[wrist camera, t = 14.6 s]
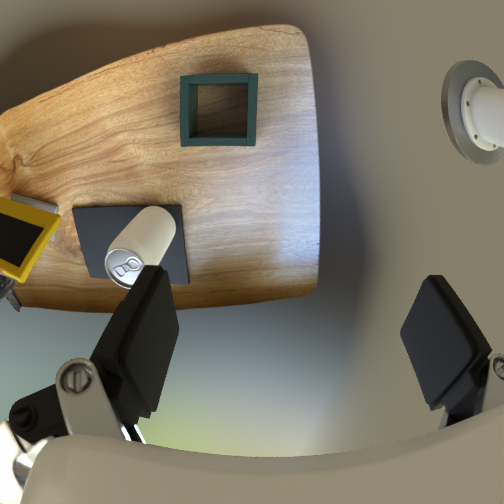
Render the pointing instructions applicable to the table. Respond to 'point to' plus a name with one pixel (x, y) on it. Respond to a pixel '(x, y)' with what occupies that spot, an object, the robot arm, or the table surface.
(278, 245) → the table surface
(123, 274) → the can
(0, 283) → the lantern
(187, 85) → the box
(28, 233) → the yellow framed monitor
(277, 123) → the table surface
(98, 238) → the mat
